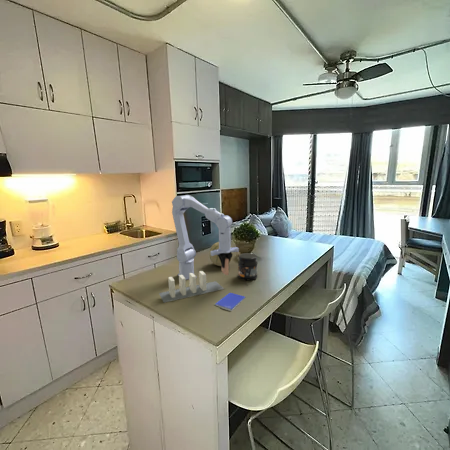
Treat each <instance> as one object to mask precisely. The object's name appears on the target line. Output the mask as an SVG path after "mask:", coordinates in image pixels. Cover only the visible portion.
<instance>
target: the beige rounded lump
mask: <svg viewBox="0 0 450 450" xmlns="http://www.w3.org/2000/svg"><path fill="white" fill-rule="evenodd" d="M217 249H219V241H217V242H215V243H213V244H212V245H211V247H210V249H209V251H208V252H209V253H208V258H209V260H210V261H211V262H212V264H213V265H215V266H218V267H222V264H221V261H220V259H219V257H218V255H214V256H211V253H210V251H214V250H217ZM231 253H232V254H233V255H232V257H231V259H230V262H229V264H230V263H231V262H232V260H233V256H234V252H231Z"/></svg>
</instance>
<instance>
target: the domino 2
mask: <svg viewBox="0 0 450 450" xmlns="http://www.w3.org/2000/svg"><path fill="white" fill-rule="evenodd" d="M186 281H187V280H186V279H185V277H184V276H183V275H179V276H178V282H179V283H178V284H179V285H178V286H179V289H180V292H181V294H182V295H186V287H187V283H186Z"/></svg>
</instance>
